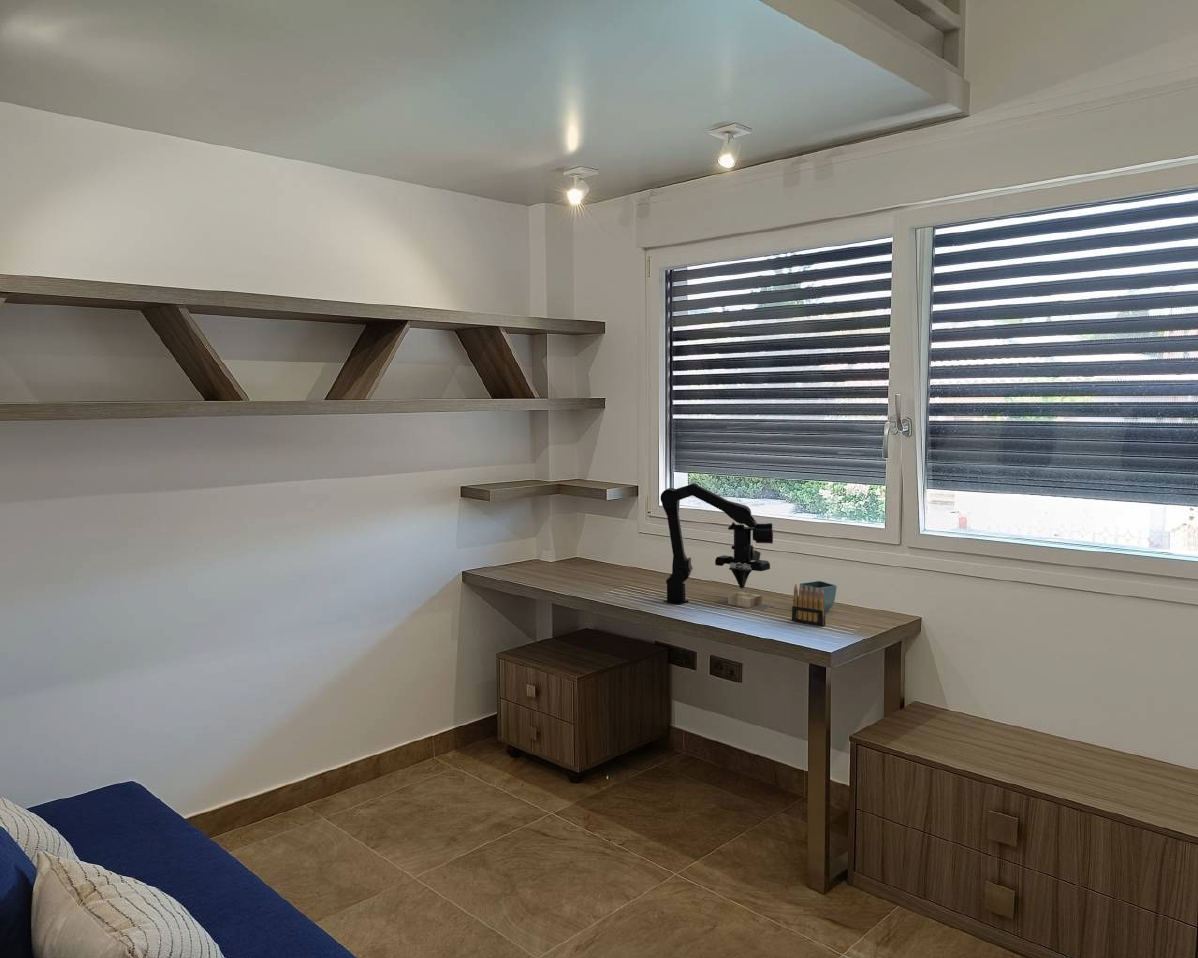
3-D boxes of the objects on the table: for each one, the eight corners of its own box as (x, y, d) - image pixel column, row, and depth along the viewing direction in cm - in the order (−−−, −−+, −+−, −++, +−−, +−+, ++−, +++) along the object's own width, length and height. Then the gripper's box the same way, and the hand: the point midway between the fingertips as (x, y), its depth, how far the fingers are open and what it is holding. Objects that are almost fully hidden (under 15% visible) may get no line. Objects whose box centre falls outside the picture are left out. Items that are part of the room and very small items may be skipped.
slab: (728, 603, 312) (750, 607, 306) (728, 595, 312) (750, 598, 306) (739, 600, 317) (762, 604, 311) (739, 591, 317) (762, 595, 311)
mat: (761, 611, 303) (761, 610, 303) (716, 603, 315) (716, 602, 315) (774, 606, 309) (774, 605, 309) (729, 599, 321) (729, 598, 321)
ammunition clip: (791, 621, 288) (791, 584, 287) (794, 620, 290) (794, 583, 289) (822, 626, 282) (823, 588, 281) (825, 625, 283) (826, 587, 282)
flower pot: (816, 615, 296) (816, 588, 296) (798, 609, 304) (798, 583, 303) (837, 612, 300) (837, 585, 300) (819, 606, 308) (819, 580, 307)
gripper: (778, 542, 310) (778, 587, 312) (732, 537, 323) (732, 581, 324) (761, 546, 302) (760, 593, 304) (714, 541, 315) (714, 586, 316)
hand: (742, 588), depth 312 cm, fingers closed
